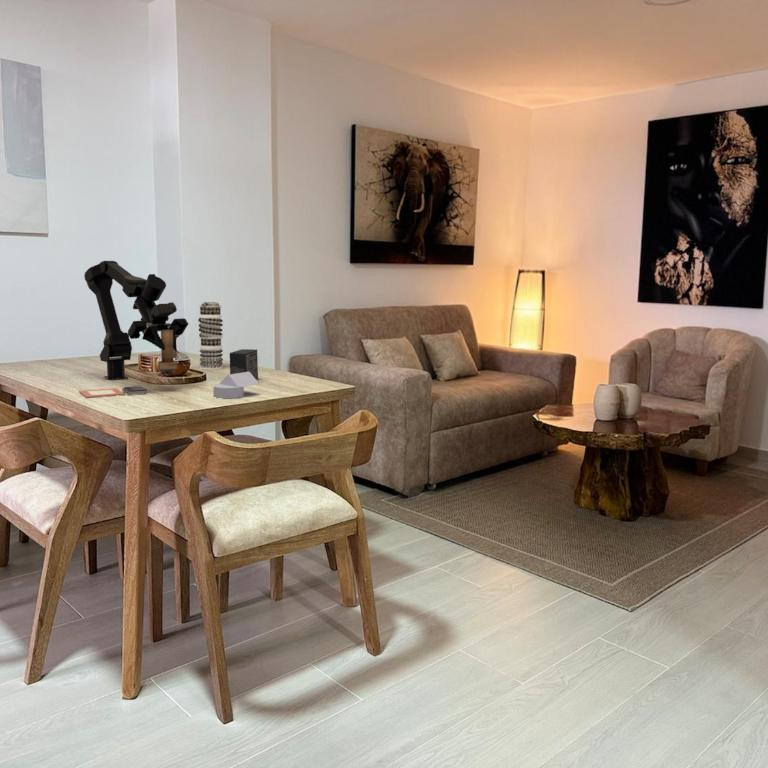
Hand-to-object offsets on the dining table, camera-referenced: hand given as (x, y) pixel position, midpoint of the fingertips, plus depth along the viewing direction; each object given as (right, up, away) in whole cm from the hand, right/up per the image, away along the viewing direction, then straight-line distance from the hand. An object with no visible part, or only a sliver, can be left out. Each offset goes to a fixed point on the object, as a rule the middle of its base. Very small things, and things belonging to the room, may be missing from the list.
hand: (169, 348), depth 227 cm
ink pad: (-10, -14, -2) cm, 17 cm away
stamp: (-1, -6, +2) cm, 7 cm away
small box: (+19, -10, +24) cm, 32 cm away
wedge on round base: (+21, -15, -3) cm, 26 cm away
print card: (-19, -14, -5) cm, 24 cm away
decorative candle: (+1, -5, +51) cm, 51 cm away
